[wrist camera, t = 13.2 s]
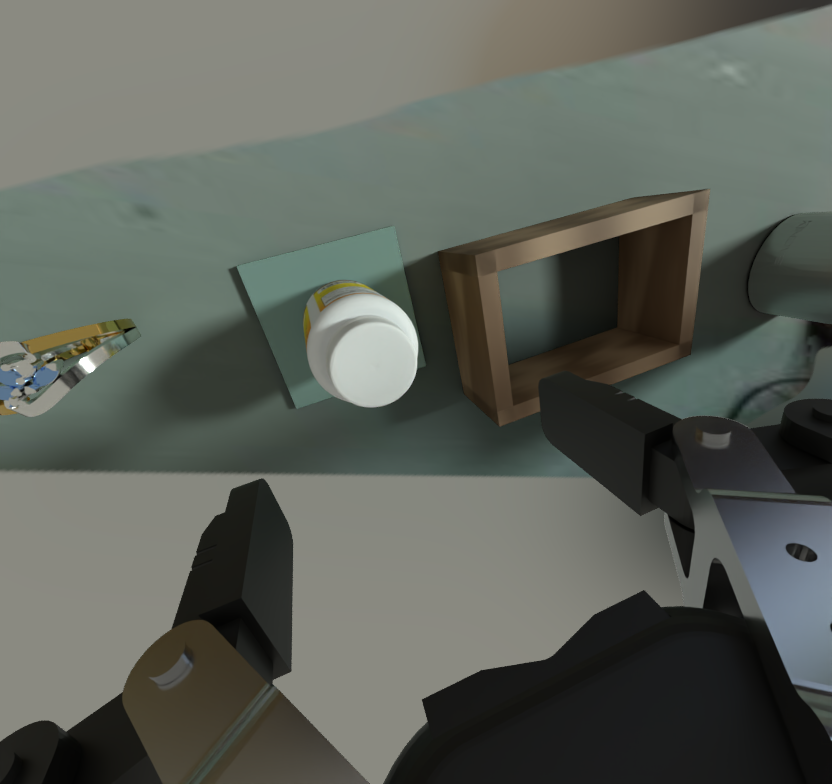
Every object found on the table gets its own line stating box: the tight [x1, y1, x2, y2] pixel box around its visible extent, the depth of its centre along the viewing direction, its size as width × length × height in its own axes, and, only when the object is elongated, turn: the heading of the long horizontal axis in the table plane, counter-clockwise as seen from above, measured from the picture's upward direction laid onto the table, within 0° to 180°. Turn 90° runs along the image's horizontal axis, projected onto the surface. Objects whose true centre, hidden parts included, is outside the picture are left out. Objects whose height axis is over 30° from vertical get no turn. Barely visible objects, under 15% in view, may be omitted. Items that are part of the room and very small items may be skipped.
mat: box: [236, 226, 426, 409], centre depth 25 cm, size 10×10×1 cm
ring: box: [0, 319, 141, 417], centre depth 18 cm, size 7×3×8 cm, turn 107°
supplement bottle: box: [303, 280, 418, 407], centre depth 21 cm, size 6×6×10 cm
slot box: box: [438, 189, 710, 427], centre depth 27 cm, size 16×11×6 cm
